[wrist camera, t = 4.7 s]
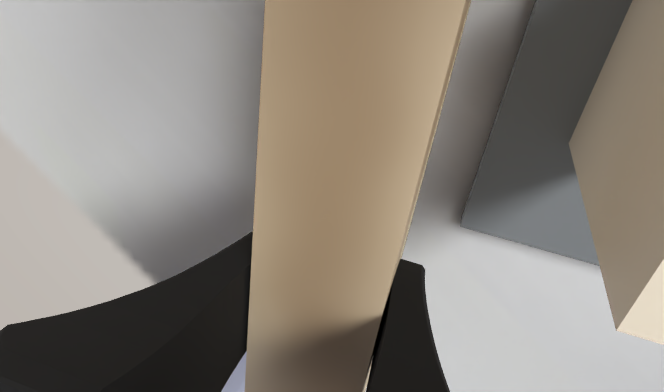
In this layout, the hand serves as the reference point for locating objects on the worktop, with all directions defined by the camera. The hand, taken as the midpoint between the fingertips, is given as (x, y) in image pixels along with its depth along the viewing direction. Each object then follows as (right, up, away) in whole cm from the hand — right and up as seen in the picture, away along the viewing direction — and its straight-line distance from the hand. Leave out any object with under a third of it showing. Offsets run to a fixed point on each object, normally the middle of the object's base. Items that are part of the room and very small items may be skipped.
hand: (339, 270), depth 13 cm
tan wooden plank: (+1, +3, 0) cm, 3 cm away
